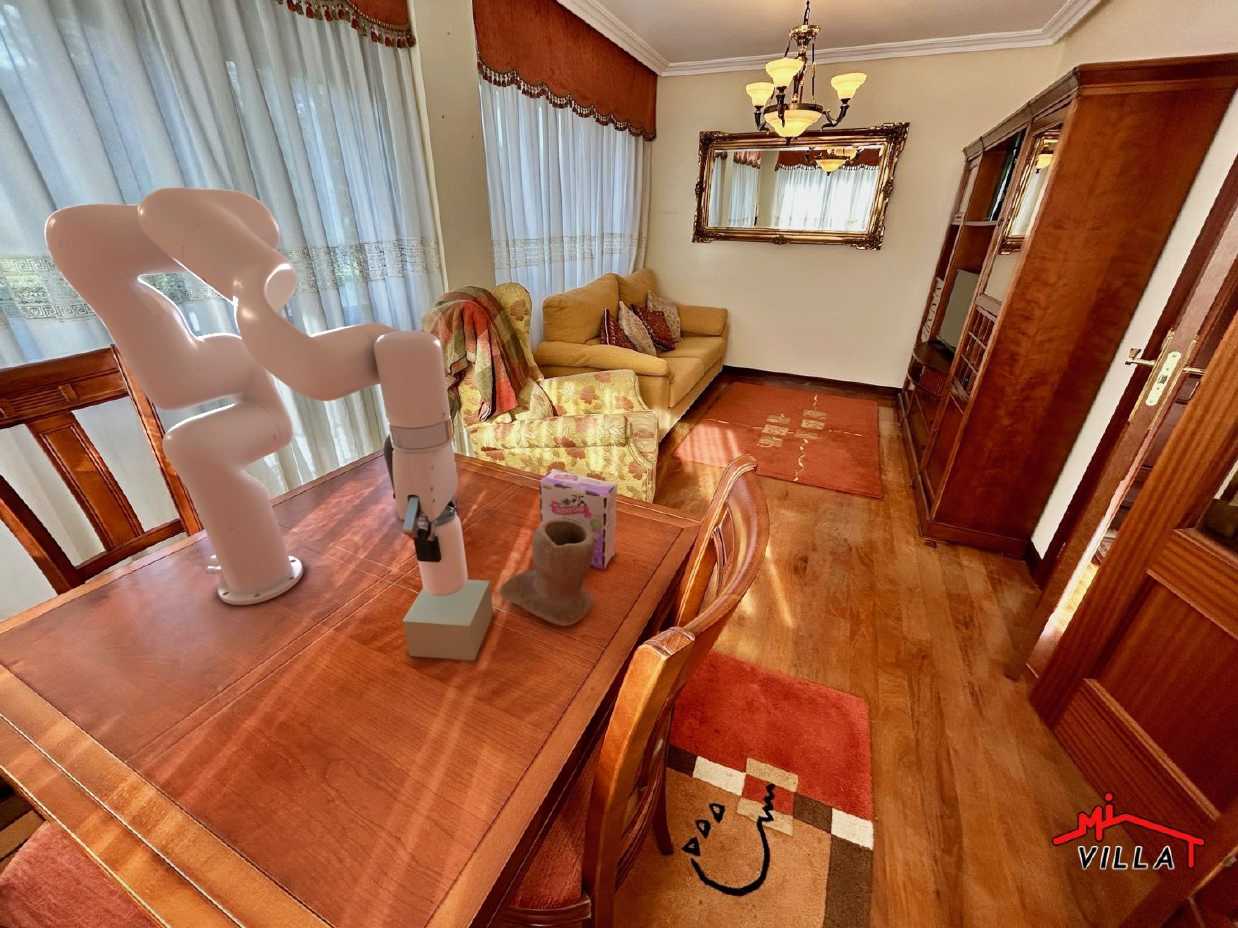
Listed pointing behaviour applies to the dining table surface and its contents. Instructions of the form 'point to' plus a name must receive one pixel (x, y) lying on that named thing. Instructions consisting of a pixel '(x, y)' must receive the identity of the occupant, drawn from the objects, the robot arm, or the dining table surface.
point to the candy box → (582, 508)
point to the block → (449, 622)
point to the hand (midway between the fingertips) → (439, 544)
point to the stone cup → (555, 574)
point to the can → (445, 556)
